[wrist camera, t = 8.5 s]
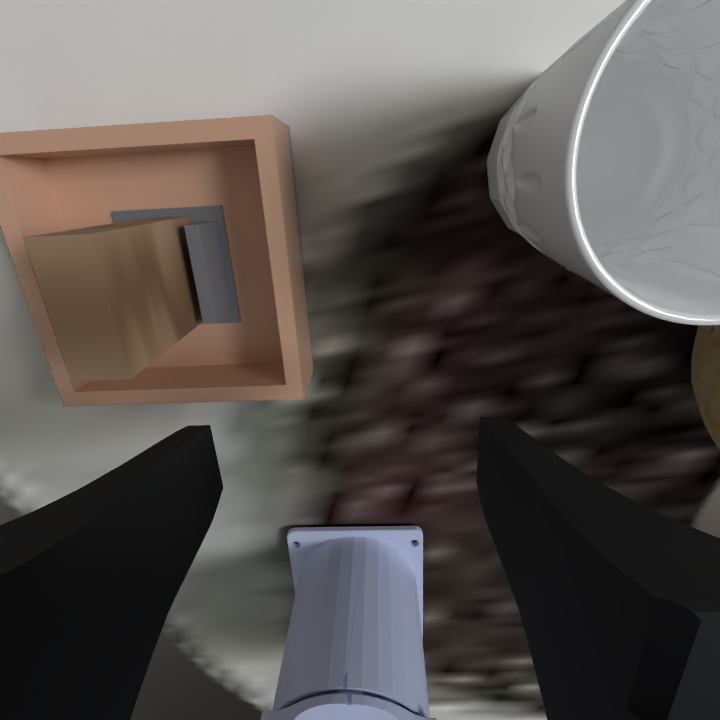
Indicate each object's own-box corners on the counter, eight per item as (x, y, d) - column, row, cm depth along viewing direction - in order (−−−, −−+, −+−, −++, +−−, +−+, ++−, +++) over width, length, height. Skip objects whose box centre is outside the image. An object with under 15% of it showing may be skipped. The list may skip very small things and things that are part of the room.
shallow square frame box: (313, 370, 22) (303, 399, 19) (104, 377, 23) (63, 406, 20) (288, 126, 18) (271, 115, 15) (33, 142, 19) (-32, 135, 16)
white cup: (436, 205, 19) (492, 227, 10) (546, 6, 16) (771, -228, 7) (583, 288, 20) (759, 379, 11) (710, 115, 17) (1090, 39, 8)
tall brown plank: (209, 316, 20) (131, 379, 14) (167, 318, 21) (70, 381, 14) (190, 216, 19) (91, 234, 12) (144, 218, 19) (23, 237, 12)
